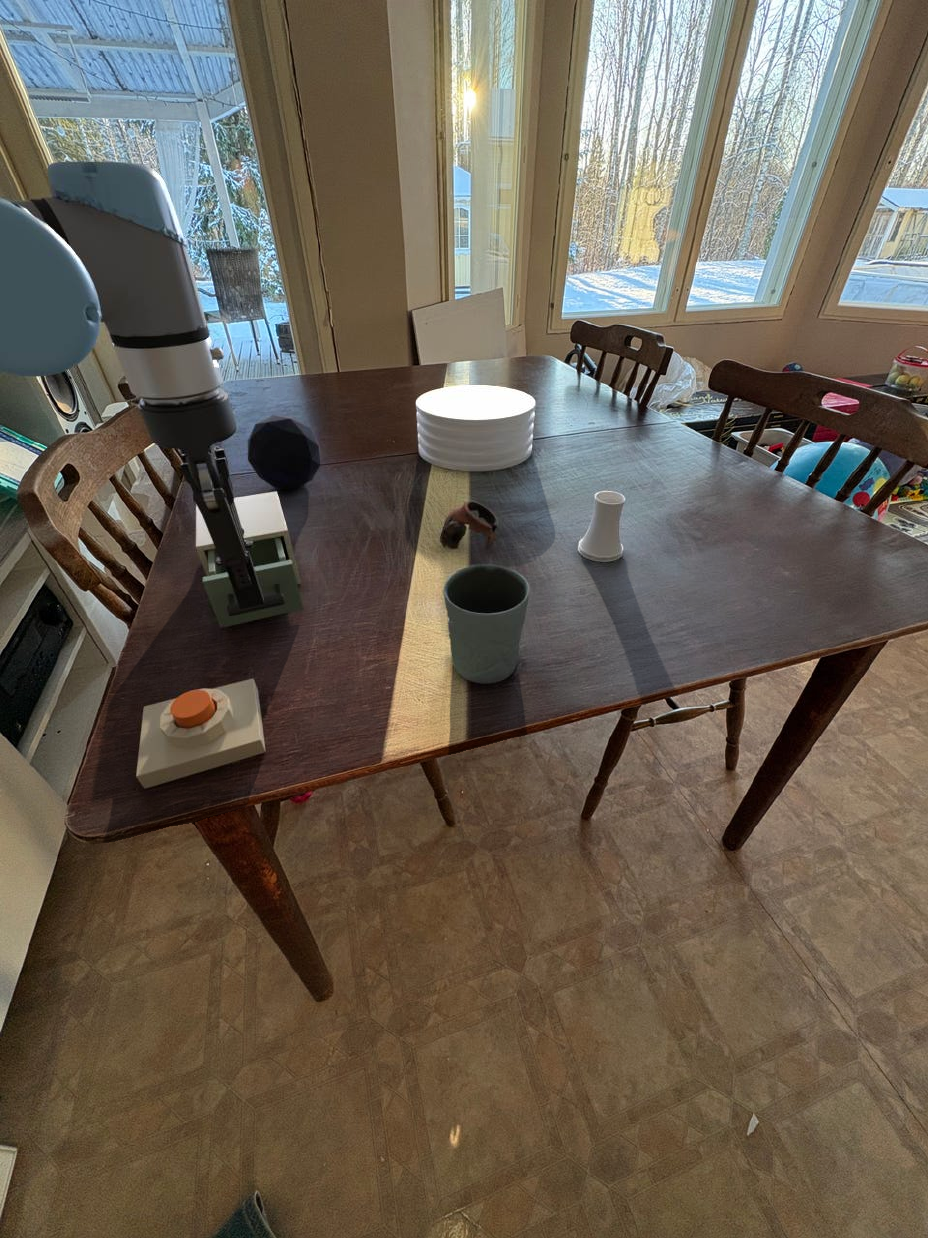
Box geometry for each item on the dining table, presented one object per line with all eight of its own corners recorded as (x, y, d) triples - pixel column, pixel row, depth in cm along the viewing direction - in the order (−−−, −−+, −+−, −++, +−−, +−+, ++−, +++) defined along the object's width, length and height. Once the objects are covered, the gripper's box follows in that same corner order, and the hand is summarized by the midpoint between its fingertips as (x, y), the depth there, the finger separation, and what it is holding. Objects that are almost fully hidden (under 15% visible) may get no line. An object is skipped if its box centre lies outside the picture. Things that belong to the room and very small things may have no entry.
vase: (607, 537, 93) (617, 484, 86) (630, 557, 87) (643, 503, 81) (570, 543, 91) (577, 491, 84) (591, 565, 85) (601, 510, 79)
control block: (144, 789, 52) (128, 765, 50) (151, 719, 60) (137, 695, 57) (265, 752, 56) (256, 728, 53) (258, 690, 63) (249, 667, 61)
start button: (175, 733, 54) (169, 722, 52) (176, 706, 56) (170, 695, 55) (216, 722, 55) (211, 711, 54) (215, 696, 58) (210, 685, 56)
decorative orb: (239, 452, 111) (232, 405, 98) (306, 439, 117) (308, 394, 104) (261, 508, 109) (257, 469, 96) (329, 492, 115) (334, 453, 102)
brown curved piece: (450, 527, 97) (473, 492, 92) (487, 559, 95) (512, 526, 91) (416, 540, 87) (440, 501, 82) (457, 576, 85) (483, 539, 81)
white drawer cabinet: (300, 583, 81) (287, 530, 75) (216, 601, 78) (195, 546, 72) (289, 540, 92) (276, 490, 86) (214, 555, 88) (195, 503, 82)
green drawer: (308, 626, 72) (296, 579, 67) (221, 646, 68) (202, 599, 63) (291, 563, 84) (280, 520, 80) (217, 577, 81) (202, 534, 76)
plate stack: (434, 427, 140) (432, 382, 133) (536, 433, 135) (540, 387, 128) (404, 466, 118) (400, 415, 111) (525, 475, 114) (529, 423, 107)
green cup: (514, 634, 71) (520, 561, 64) (530, 686, 64) (539, 610, 56) (442, 640, 70) (439, 566, 63) (449, 693, 63) (447, 617, 55)
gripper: (229, 408, 42) (291, 627, 57) (223, 372, 52) (278, 568, 66) (127, 419, 40) (220, 645, 55) (141, 380, 49) (216, 581, 64)
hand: (252, 602), depth 61 cm, fingers closed
